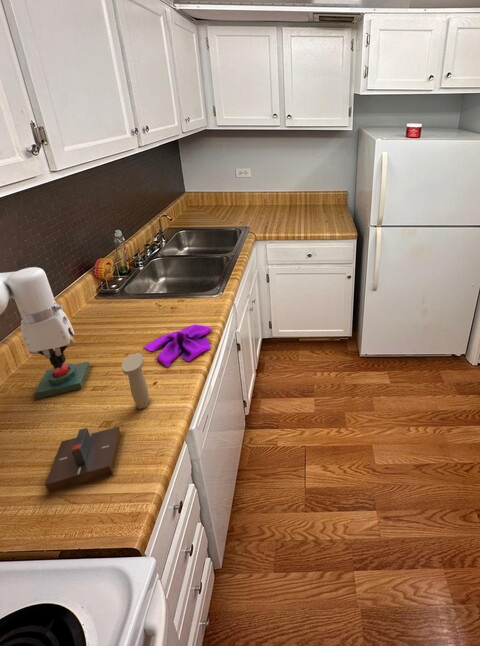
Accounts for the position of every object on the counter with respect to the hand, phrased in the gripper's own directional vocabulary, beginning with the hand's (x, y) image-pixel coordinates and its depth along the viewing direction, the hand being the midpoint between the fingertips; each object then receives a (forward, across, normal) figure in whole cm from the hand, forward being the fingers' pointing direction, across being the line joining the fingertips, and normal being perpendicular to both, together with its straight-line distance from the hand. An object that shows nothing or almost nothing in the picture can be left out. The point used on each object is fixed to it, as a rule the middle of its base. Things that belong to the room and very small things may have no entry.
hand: (59, 364), depth 96 cm
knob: (+3, -13, +29) cm, 32 cm away
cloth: (+7, -31, -6) cm, 33 cm away
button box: (+6, 0, 0) cm, 7 cm away
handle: (+7, -23, +16) cm, 29 cm away
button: (+3, 0, 0) cm, 3 cm away
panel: (+6, -13, +29) cm, 32 cm away
